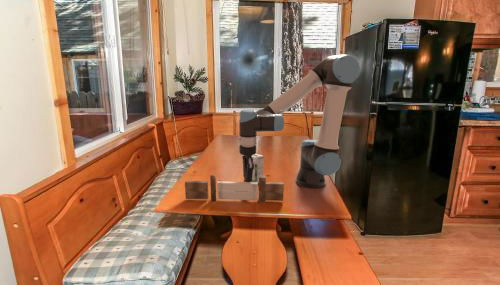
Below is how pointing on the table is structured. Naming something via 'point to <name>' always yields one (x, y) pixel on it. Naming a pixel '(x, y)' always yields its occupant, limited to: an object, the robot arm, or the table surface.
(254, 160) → the syrup box
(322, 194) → the table surface
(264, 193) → the fence
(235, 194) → the gate
